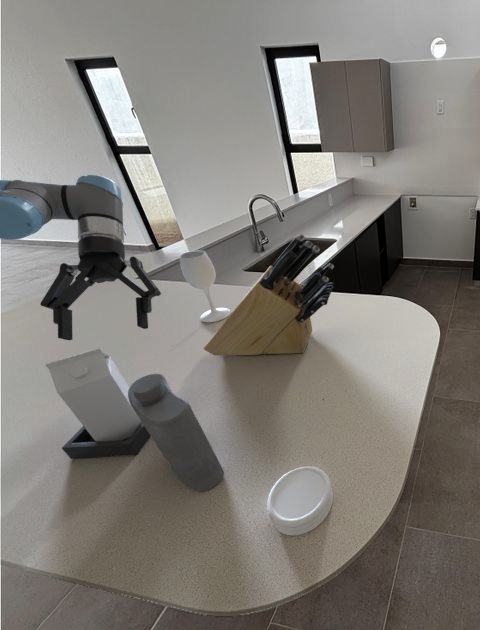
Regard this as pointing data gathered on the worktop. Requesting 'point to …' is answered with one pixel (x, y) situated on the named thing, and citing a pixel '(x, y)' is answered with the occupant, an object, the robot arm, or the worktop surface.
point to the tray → (105, 445)
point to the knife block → (276, 308)
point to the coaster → (300, 500)
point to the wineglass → (202, 280)
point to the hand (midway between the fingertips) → (105, 333)
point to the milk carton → (95, 394)
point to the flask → (175, 432)
